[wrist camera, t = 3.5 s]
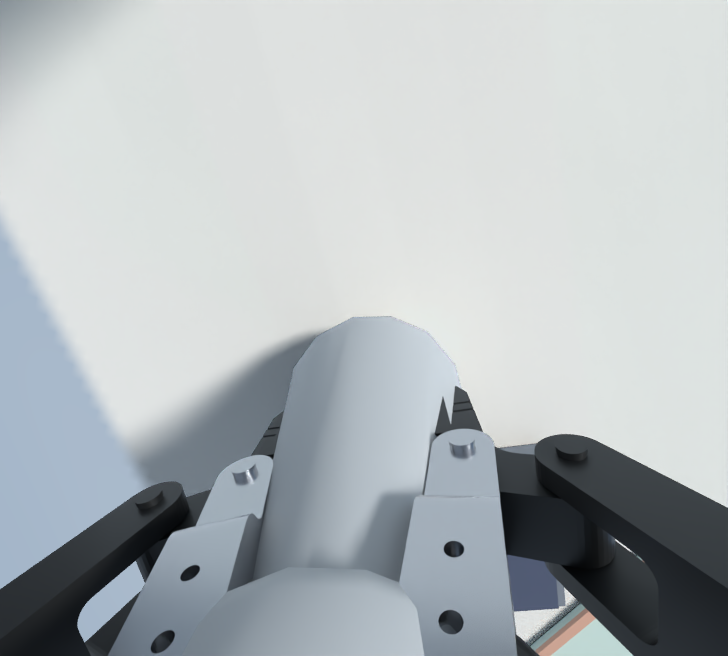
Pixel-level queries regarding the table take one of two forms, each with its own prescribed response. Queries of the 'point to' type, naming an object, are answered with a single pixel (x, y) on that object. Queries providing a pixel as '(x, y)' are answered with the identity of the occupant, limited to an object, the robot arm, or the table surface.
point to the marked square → (579, 637)
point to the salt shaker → (341, 501)
